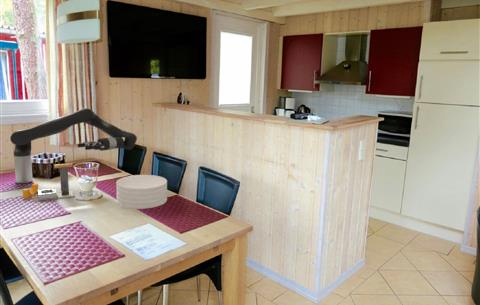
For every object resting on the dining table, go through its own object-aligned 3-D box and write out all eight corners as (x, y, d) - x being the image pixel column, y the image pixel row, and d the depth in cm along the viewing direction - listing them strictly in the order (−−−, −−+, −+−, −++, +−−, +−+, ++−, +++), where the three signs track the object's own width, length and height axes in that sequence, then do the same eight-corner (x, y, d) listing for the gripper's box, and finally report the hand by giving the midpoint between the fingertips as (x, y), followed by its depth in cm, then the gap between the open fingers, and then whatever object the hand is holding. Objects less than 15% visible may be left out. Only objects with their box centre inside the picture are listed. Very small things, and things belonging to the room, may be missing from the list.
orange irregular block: (30, 194, 211) (30, 183, 210) (38, 194, 211) (37, 183, 210) (20, 201, 199) (19, 189, 198) (28, 201, 200) (27, 190, 198)
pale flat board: (31, 198, 203) (31, 196, 203) (72, 194, 214) (72, 191, 214) (32, 205, 194) (32, 202, 194) (75, 199, 205) (75, 197, 205)
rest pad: (56, 194, 208) (56, 193, 208) (71, 192, 212) (71, 191, 212) (58, 198, 201) (58, 197, 201) (73, 196, 206) (73, 195, 206)
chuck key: (56, 194, 206) (54, 164, 202) (73, 192, 211) (71, 162, 207) (56, 196, 203) (54, 165, 199) (74, 194, 208) (72, 164, 204)
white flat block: (38, 196, 204) (37, 190, 203) (55, 194, 208) (54, 188, 207) (39, 200, 196) (38, 194, 196) (56, 198, 201) (56, 192, 200)
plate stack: (172, 194, 222) (172, 176, 220) (158, 210, 195) (158, 190, 192) (128, 191, 224) (128, 173, 222) (107, 206, 197) (107, 186, 195)
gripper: (100, 136, 226) (75, 138, 213) (113, 139, 217) (87, 142, 205) (100, 148, 227) (75, 151, 215) (113, 151, 219) (88, 155, 206)
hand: (81, 146), depth 210 cm, fingers open, 8 cm apart
